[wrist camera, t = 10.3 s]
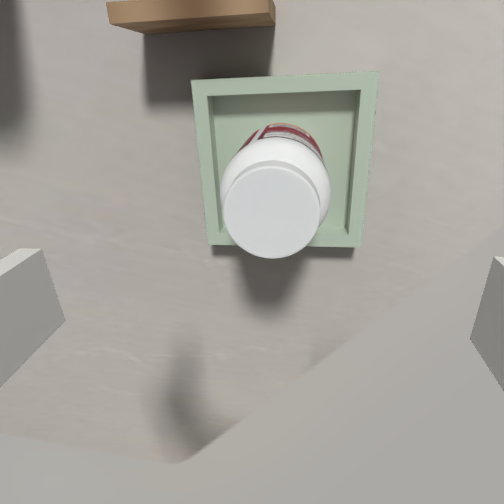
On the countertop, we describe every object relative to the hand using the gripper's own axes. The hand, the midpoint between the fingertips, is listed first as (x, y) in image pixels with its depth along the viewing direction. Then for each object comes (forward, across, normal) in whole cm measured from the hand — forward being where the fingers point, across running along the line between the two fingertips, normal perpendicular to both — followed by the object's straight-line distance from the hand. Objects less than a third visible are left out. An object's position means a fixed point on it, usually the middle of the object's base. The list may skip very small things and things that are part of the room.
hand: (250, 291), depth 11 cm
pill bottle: (+18, 0, 0) cm, 18 cm away
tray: (+18, 0, 0) cm, 18 cm away
